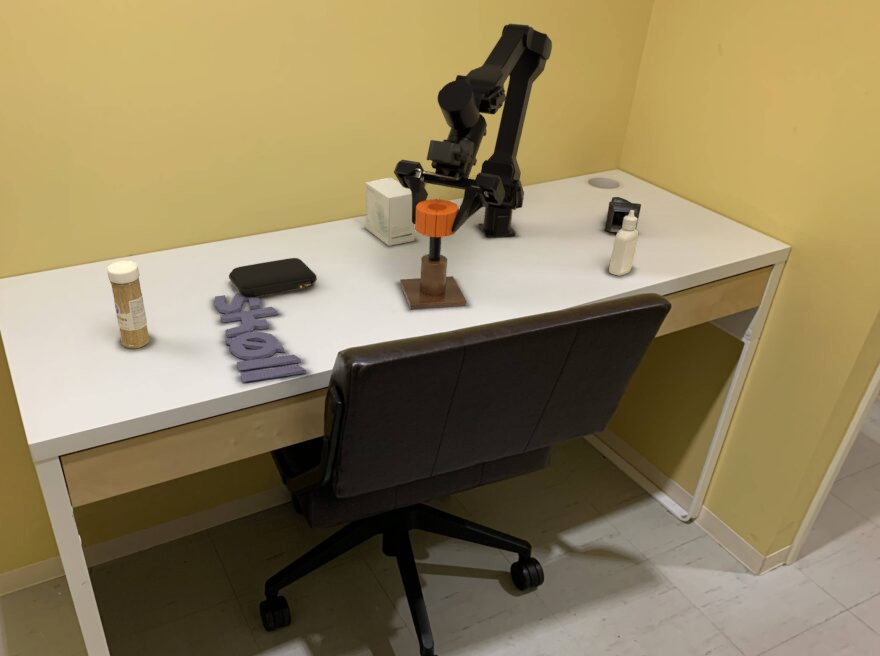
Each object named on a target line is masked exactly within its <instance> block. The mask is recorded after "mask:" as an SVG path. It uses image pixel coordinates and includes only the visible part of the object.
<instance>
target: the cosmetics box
mask: <svg viewBox="0 0 880 656" xmlns="http://www.w3.org/2000/svg"><path fill="white" fill-rule="evenodd" d="M365 229H366V230H367V231H368V232H370V233H371V234H372V235H374V236H375V237H376V238H378V239H379V240H380V241H382V242H383V243H384V244H385V245H386V246H388V247H391V246H392V247H393V246H396V245H400V244H405V243H410V242H414V241H415V224H413V223H412V193H411V190H410V189H407V188H404V187H403V186H402V185H401V184H400V182H399V181H397V180H396V179H394V178H393V177H391V176H390V177H384V178H380V179H374V180H369V181H366V182H365Z"/></svg>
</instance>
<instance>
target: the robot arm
mask: <svg viewBox="0 0 880 656" xmlns="http://www.w3.org/2000/svg"><path fill="white" fill-rule="evenodd" d="M501 31H502V32H501V36H500V37H499V39H498V40H497V42H496V44H495V45H494V47H493V49H492V50H491V51H490V53H489V54H488V56H487V57H486V59H485V61H484V63H483V64H482V65H481V66H478V67H476V68H474V69H470V71H469V72H468V73H467V74H466V75H462V74H457V75H456V77H455V80H452V81H450V82H448V83H446V84H445V85H443V87H442V88H441V89H440V90H439V91H438V94H437V103H438V107H439V108H440V111H441V113H442V116H443V118H444V120H445V122H446V123H445V124H446V125H447V126H448V127H449V128H450V129H449V130H450V131H449V133H448V134H447V138H446V139H444V138H443V140H442V141H441V140H435V139H430V140H429V146H428V149H427V150H428V151H427V155H426V160H427V161H431V164H430V166H431V168H432V169H435V171H434V172H433V171H427V170H425V169H424V168H423V166H422V164H421V162H420V161H413V160H408V159H401V160H399V161H398V162H397V163H396V165H395V168H394V170H393V173H394V175H395V177H396V179H397V180H398V182H399V183H400V184H401V185H402V186H403V187H404V188H407V189H410V190H411V193H412V223H413V224H414V225H415V221H416V205H417V204H418V203H419V202H421V201H425V200H428V196H429V193H428V190H427V189H426V186H427V185H428V184H430V185H436V186H441V187H447V188H451V189H457V190H463V191H464V194H463V199H462V202H461V204H460V206H459V211H458V213H457V215H456V218H455V220H454V223H453V227H452V231H453V232H455V233H456V232H457V231H458V230H459V229H460V228H461V227H462V226H463V225H464V224H466V222H467V221H468V220H469V219H470V218H471V217H472V216H473V215H475V214H476V213H477V212H478V211H479V210H481V209H482V208H484V216H483V222H481V223H478V224H477V226H478V228H479V230H480V231H481V232H482V234H483V235H484V237H486V238H494V237H495V238H499V237H500V238H501V237H515V236H516V231H515V230H514V229H513V228H512V218H513V211H515V210H517V209H522V208H523V206H524V205H523V203H524V199H525V197H524V196H525V191H524V188H523V184H522V181H521V174H522V172H521V168H520V165H519V163H518V160H517V156H518V152H519V147H520V142H521V137H522V133H523V130H524V124H525V120H526V115H527V111H528V108H529V107H528V106H529V101H530V96H531V92H532V89H533V83H535V81H536V80H537V79H538V78H539V77H540V75H541V74H543V72H544V71H545V67H546V64H547V61H548V60H549V59H550V57H551V54H552V49H553V42H552V39H551V38H550V37H549V35H548V34H547V33H545V32H541V31H538V30H536V29H534V27H532V26H530V25H529V24H521V23H520V24H519V23H508V24H504V26H503V28H502V30H501ZM508 78H509V80H508V84H507V89H505V83H506V81H507V79H508ZM502 107H503V108H502ZM501 108H502V112H501V117H500V121H499V125H498V131H497V134H496V135H497V136H496V139H495V145H494V150H493V153H492V154H491V156H489V158H488V159H485V160H484V161H483V162H482V164H481V169H480V172H479V173H477V174H476V175H475V179H474V178H469V177H470V175H471V172H472V169H473V166H475V167H476V165H477V162H478V159H477V156H478V152H479V149H480V147H481V145H482V141H483V138H484V137H486V136H487V127H488V123H487V120H486V118H485V116H484V115H485V114H486V115H496V114H497V112H498V111H499V110H500V109H501ZM482 114H484V115H482Z"/></svg>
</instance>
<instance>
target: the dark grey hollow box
mask: <svg viewBox="0 0 880 656" xmlns="http://www.w3.org/2000/svg"><path fill="white" fill-rule="evenodd" d="M641 208H642V204H641V203H637V202H636V203H635V202H631V201H629V200H628V199H627V198H623V197H620V196H612V197H611V201H609V202H608V207H607V213H606V221H605V226H604V231H605V232H612V233H618V231H619V230H620V229H622V225H623V220H624V217H625V216H628V215H629V213H630V210H634V216H635V217H636V218H637V224H636V229H637V227H638V222H639V217H640V212H641Z"/></svg>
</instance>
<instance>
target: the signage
mask: <svg viewBox="0 0 880 656" xmlns="http://www.w3.org/2000/svg"><path fill="white" fill-rule="evenodd" d="M246 301H247V302H249V306H250V307H249V308H250V309H249V310H243V311H242V310H241V309H242V307H243V305H244V303H245V302H246ZM214 307H215V308H216V310H217V311H218V313H221V315H220V320H221V323H229V322H236V321H241V324H240V325H238V326H235V327H231V328H226V329H225V330H224V331H225V335H226V337H227V338H225V343H226V345H229V346H230V353H231V354H232V355H234V356H235V357H237V358H239V359H242V360H241V361H236V366H237V369H238V371H244V372H240V379H241V380H242V382H243V383H245V382H251V381H259V380H266V379H274V378H281V377H288V376H295V375H301V374H307V371H306V370H307V369H305V368H304V367H303V366H301V365H299V364H298V363H301V362H302V361H301V358H300V357H298V356H297V355H296V354H293V353H292V354H285V355H278V356H273V355H274V354H276V353H285V351H286V350H285V348H284V346H282V345H279V340H278V339H277V338H276V336H274V335H273V334H272V333H269V332H264V331H254V330H255V329H256V330H266V329H269V328H270V327H269V323H268V321H267V319H266V318H263V319H257V318H262V317H271V316H276V315H278V314H279V313H278V310H277V309H275V308H274V307H272V306H267V307H261V300H260V298H259V296H258V297H257V296H254V297H246V296H244V295H243V294H241V293H240V292H238V293H236V294H235V295H233V298H232V300H231V302H230V304H228V305H227V304H226V295H225V294H224V295H223V294H222V295H216V296H214ZM232 337H233V338H232ZM271 356H272V357H271ZM291 364H294V365H291ZM295 364H296V365H295ZM283 365H287V366H283ZM288 365H289V366H288ZM276 366H281V367H276ZM268 367H269V368H268ZM270 367H274V368H270ZM260 368H261V369H260ZM263 368H266V369H263ZM254 369H258V370H254ZM246 370H247V371H246ZM248 370H252V371H248Z"/></svg>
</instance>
